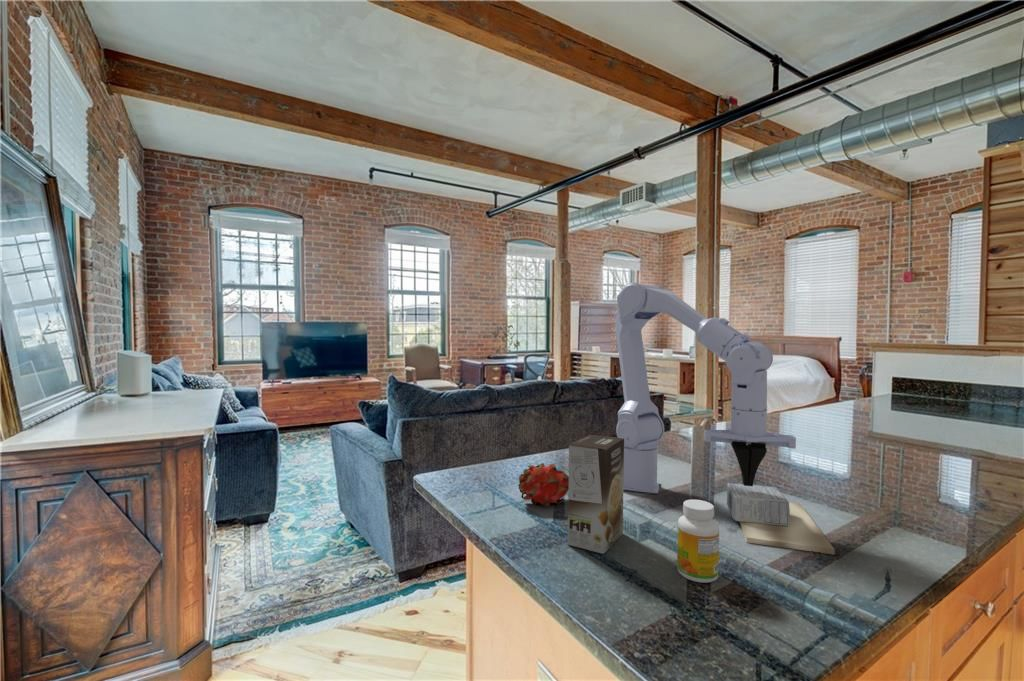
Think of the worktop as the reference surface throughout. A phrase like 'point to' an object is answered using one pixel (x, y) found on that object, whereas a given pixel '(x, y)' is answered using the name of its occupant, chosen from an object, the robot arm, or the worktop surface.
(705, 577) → the supplement bottle
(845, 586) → the worktop surface
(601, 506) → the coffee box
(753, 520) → the medicine box
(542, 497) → the dragon fruit
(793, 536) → the board
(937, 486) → the worktop surface
